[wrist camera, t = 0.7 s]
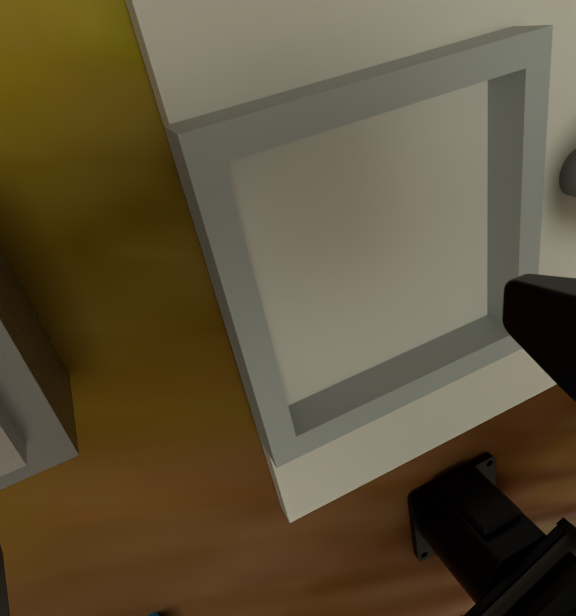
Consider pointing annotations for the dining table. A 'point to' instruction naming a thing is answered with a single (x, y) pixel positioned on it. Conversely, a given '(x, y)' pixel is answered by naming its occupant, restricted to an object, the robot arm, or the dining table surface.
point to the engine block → (30, 390)
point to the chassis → (370, 210)
